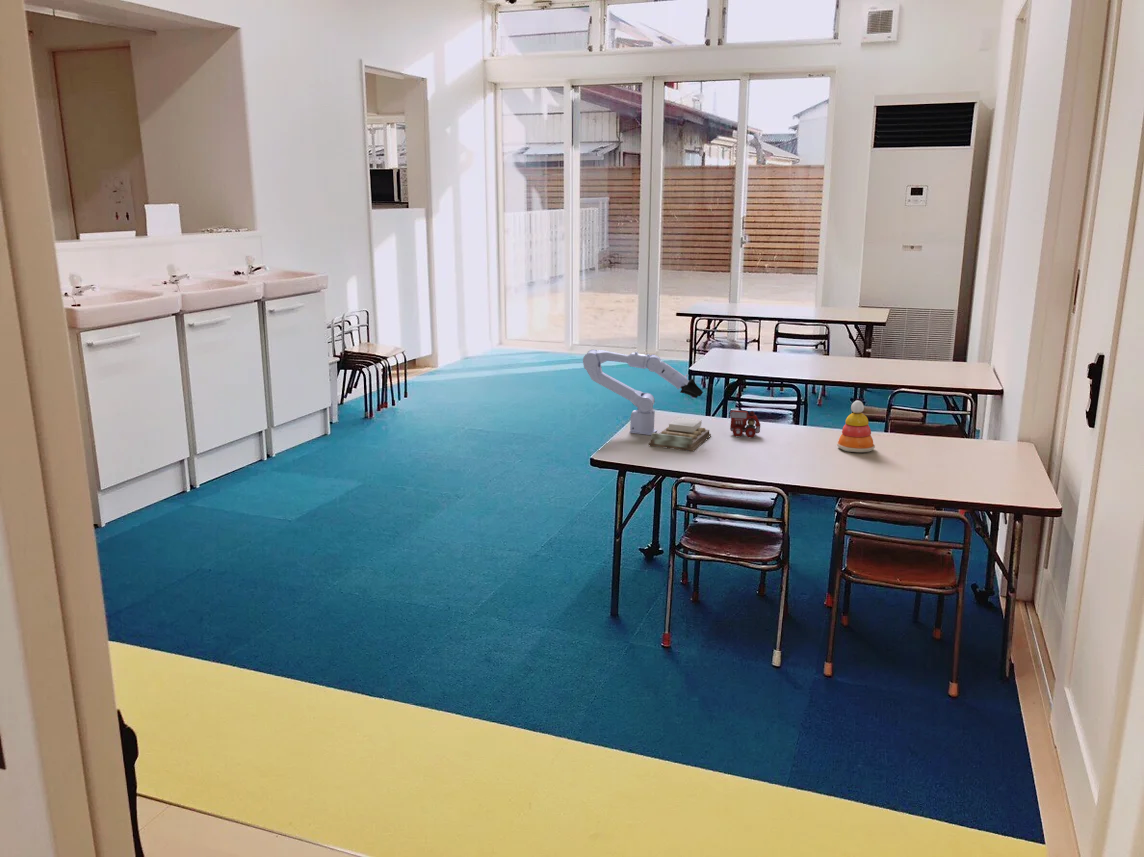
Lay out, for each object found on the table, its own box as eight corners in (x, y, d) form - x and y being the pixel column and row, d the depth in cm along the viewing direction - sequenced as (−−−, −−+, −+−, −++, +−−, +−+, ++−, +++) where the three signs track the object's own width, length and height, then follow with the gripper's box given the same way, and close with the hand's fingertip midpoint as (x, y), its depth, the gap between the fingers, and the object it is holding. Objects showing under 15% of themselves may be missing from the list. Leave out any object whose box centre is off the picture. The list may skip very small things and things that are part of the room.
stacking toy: (870, 445, 354) (874, 397, 349) (878, 455, 341) (883, 405, 336) (833, 443, 356) (837, 395, 351) (840, 453, 342) (844, 404, 337)
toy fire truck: (759, 438, 362) (761, 413, 359) (728, 436, 364) (730, 411, 361) (759, 434, 369) (761, 409, 366) (729, 432, 371) (730, 408, 368)
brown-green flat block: (648, 445, 349) (648, 433, 348) (668, 430, 372) (669, 419, 370) (692, 451, 342) (693, 438, 341) (710, 436, 364) (711, 424, 363)
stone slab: (668, 429, 359) (668, 423, 358) (677, 423, 370) (678, 417, 369) (692, 432, 355) (693, 426, 354) (701, 425, 366) (701, 420, 365)
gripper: (680, 365, 354) (708, 385, 354) (674, 370, 369) (701, 388, 369) (670, 380, 354) (698, 399, 354) (665, 384, 368) (692, 402, 368)
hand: (699, 395), depth 361 cm, fingers open, 7 cm apart
